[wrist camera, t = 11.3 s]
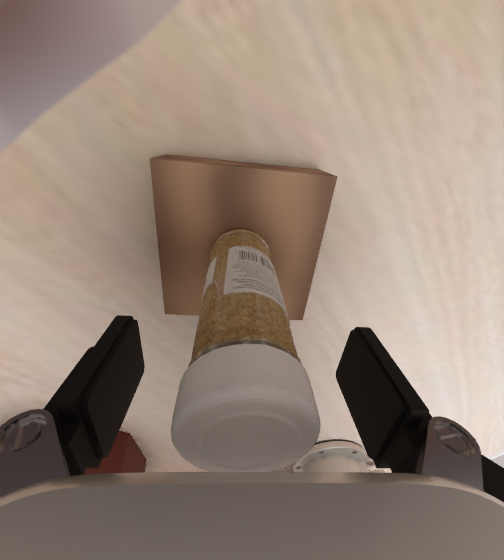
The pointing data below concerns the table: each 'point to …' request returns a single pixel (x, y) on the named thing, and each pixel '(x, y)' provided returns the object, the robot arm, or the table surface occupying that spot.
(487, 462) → the robot arm
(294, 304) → the walnut plinth
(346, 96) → the table surface
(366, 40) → the table surface
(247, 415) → the sprinkles bottle
